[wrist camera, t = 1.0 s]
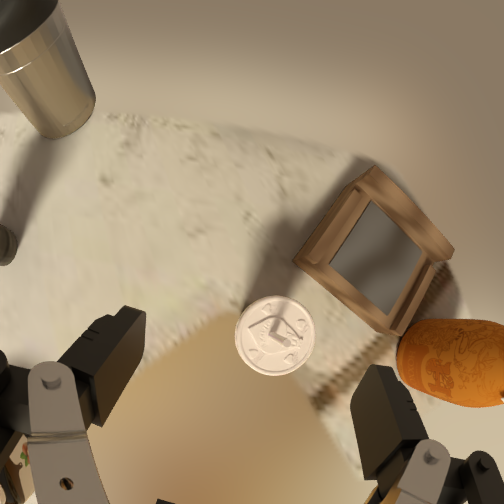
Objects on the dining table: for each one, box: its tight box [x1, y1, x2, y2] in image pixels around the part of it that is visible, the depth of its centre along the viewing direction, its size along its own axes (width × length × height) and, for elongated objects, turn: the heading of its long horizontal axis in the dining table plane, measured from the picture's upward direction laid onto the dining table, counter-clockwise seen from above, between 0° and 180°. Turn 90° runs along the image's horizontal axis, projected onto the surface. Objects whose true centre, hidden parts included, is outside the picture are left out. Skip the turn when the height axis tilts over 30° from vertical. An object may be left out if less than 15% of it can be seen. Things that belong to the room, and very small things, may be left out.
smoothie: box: [235, 295, 316, 376], centre depth 26 cm, size 6×6×14 cm
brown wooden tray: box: [292, 165, 454, 336], centre depth 32 cm, size 14×12×7 cm
